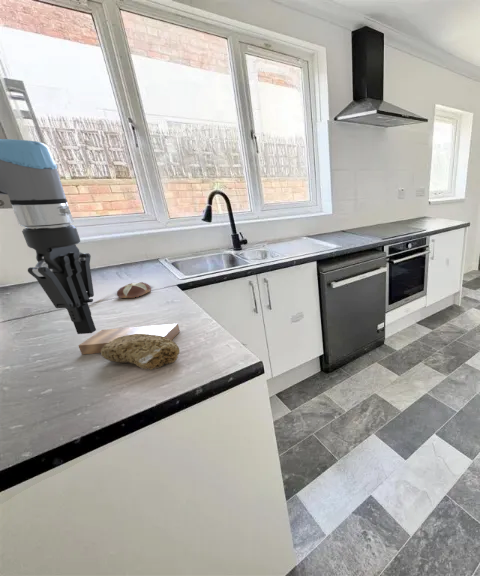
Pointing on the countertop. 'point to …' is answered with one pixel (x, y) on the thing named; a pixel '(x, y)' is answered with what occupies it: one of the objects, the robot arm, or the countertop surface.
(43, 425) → the countertop surface
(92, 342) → the wooden board
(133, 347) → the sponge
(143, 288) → the bread
